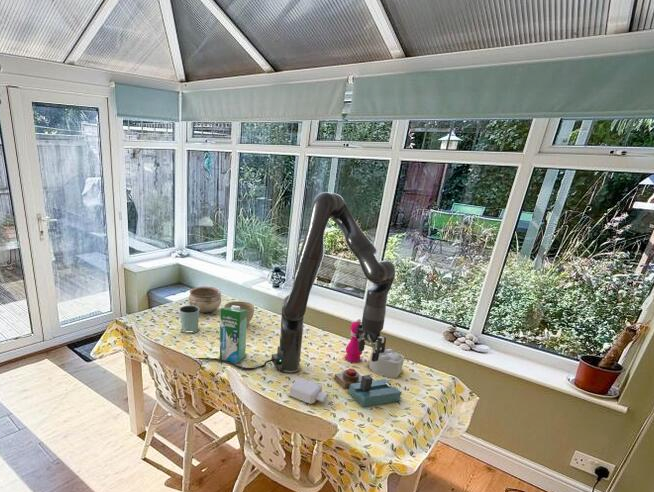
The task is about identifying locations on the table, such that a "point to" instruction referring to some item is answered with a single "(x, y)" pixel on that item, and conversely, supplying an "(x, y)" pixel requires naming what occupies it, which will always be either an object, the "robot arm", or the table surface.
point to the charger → (308, 391)
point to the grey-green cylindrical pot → (189, 318)
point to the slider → (366, 383)
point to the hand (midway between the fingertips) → (367, 355)
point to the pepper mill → (353, 344)
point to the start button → (351, 372)
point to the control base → (375, 393)
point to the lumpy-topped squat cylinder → (387, 363)
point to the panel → (347, 379)
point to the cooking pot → (205, 298)
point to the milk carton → (233, 333)
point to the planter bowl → (245, 306)
